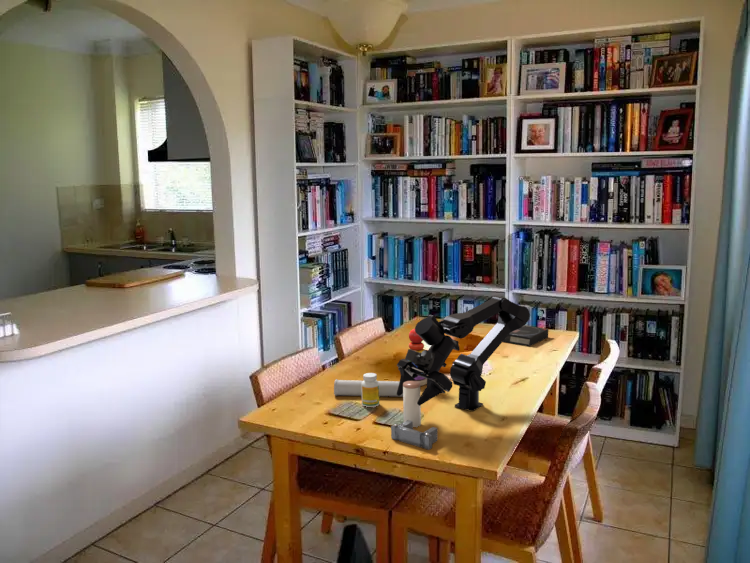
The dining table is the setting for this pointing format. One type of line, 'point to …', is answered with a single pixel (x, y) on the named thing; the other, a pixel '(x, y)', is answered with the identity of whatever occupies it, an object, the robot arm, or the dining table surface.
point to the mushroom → (412, 402)
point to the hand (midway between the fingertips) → (407, 399)
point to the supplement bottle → (370, 390)
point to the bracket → (414, 435)
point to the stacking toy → (418, 347)
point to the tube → (355, 388)
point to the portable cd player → (527, 336)
